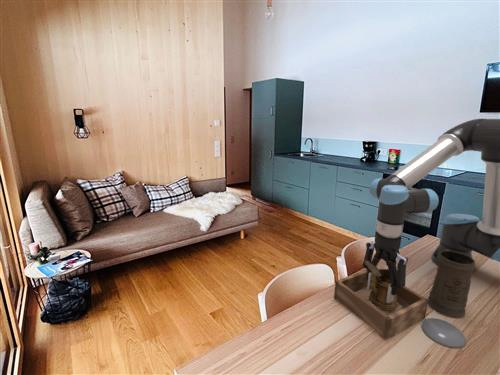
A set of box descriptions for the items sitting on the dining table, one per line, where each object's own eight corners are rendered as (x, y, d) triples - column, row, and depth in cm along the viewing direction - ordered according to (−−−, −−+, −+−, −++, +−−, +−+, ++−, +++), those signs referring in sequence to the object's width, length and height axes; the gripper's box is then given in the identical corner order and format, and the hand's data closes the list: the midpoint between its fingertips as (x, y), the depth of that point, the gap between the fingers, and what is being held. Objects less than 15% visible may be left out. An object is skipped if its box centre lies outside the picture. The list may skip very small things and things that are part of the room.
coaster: (434, 315, 90) (434, 313, 90) (472, 339, 81) (473, 337, 81) (413, 327, 85) (414, 325, 85) (452, 353, 76) (453, 351, 76)
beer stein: (473, 322, 87) (485, 265, 83) (436, 317, 89) (446, 261, 86) (449, 294, 102) (458, 245, 98) (417, 291, 104) (425, 242, 100)
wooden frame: (370, 283, 107) (372, 267, 106) (424, 318, 89) (428, 299, 87) (333, 297, 99) (335, 281, 97) (386, 339, 80) (389, 320, 79)
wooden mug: (353, 299, 96) (357, 254, 91) (382, 290, 100) (388, 247, 95) (372, 316, 88) (378, 267, 83) (403, 306, 92) (410, 259, 87)
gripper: (355, 224, 93) (349, 282, 99) (411, 249, 76) (399, 317, 82) (370, 220, 97) (363, 276, 103) (427, 243, 80) (415, 309, 86)
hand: (379, 294), depth 93 cm, fingers closed on wooden mug, 7 cm apart
